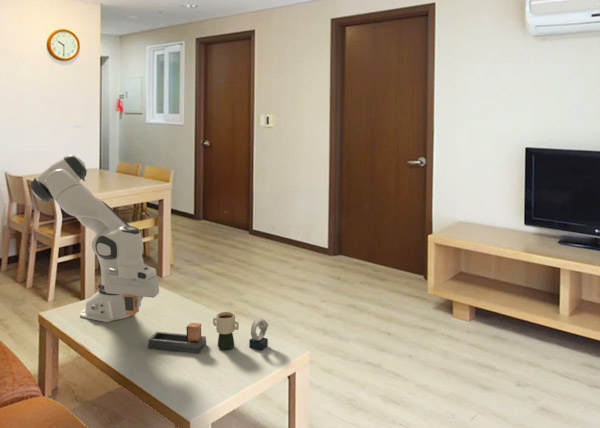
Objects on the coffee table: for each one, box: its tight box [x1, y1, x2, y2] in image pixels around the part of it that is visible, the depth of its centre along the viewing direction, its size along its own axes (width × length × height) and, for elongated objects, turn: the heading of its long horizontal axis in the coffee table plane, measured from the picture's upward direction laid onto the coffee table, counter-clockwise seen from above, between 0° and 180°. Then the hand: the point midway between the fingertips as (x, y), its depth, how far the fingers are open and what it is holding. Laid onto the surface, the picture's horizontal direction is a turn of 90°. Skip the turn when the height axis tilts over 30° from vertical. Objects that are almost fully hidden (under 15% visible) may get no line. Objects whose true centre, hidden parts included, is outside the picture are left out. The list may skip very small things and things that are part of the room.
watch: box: [248, 318, 269, 351], centre depth 193 cm, size 6×8×11 cm
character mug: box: [212, 311, 240, 350], centre depth 192 cm, size 11×7×13 cm, turn 68°
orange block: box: [125, 294, 140, 316], centre depth 189 cm, size 5×3×8 cm
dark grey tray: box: [147, 322, 207, 355], centre depth 192 cm, size 20×8×10 cm, turn 80°
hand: (132, 305), depth 190 cm, fingers closed on orange block, 3 cm apart
